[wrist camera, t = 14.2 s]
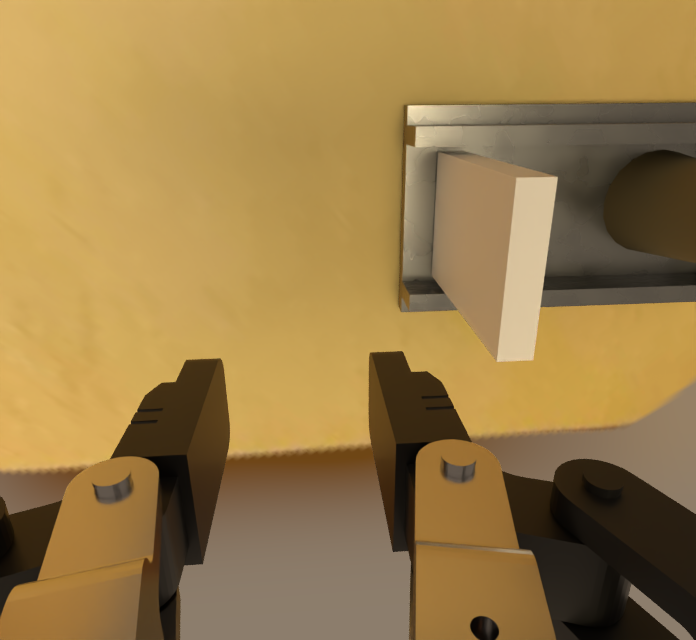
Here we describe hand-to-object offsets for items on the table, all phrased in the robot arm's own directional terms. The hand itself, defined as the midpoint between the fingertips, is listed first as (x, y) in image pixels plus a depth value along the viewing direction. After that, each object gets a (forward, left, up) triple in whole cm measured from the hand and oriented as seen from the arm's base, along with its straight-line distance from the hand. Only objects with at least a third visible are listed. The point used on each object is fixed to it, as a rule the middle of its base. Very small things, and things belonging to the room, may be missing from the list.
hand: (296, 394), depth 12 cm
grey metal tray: (0, +16, -21) cm, 27 cm away
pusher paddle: (0, +9, -20) cm, 22 cm away
